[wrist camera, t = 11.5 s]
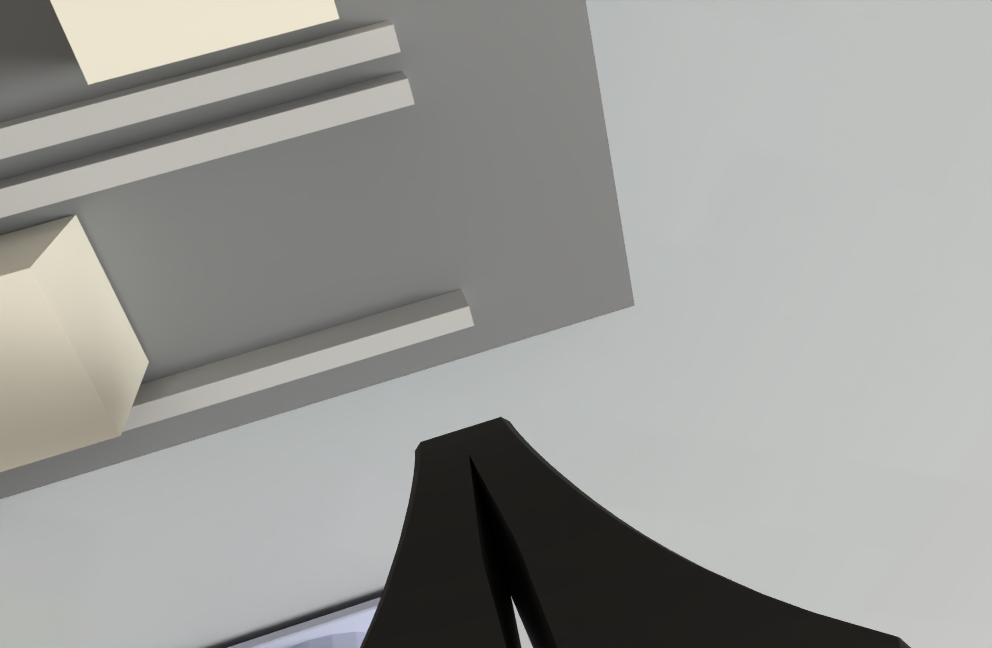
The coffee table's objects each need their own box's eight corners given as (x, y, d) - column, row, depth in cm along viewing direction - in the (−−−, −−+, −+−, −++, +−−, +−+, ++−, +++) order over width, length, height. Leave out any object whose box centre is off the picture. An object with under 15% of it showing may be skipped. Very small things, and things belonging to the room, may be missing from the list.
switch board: (607, 275, 21) (649, 322, 19) (-160, 506, 20) (-233, 593, 17) (491, -388, 15) (530, -460, 12) (-658, -133, 13) (-899, -154, 11)
